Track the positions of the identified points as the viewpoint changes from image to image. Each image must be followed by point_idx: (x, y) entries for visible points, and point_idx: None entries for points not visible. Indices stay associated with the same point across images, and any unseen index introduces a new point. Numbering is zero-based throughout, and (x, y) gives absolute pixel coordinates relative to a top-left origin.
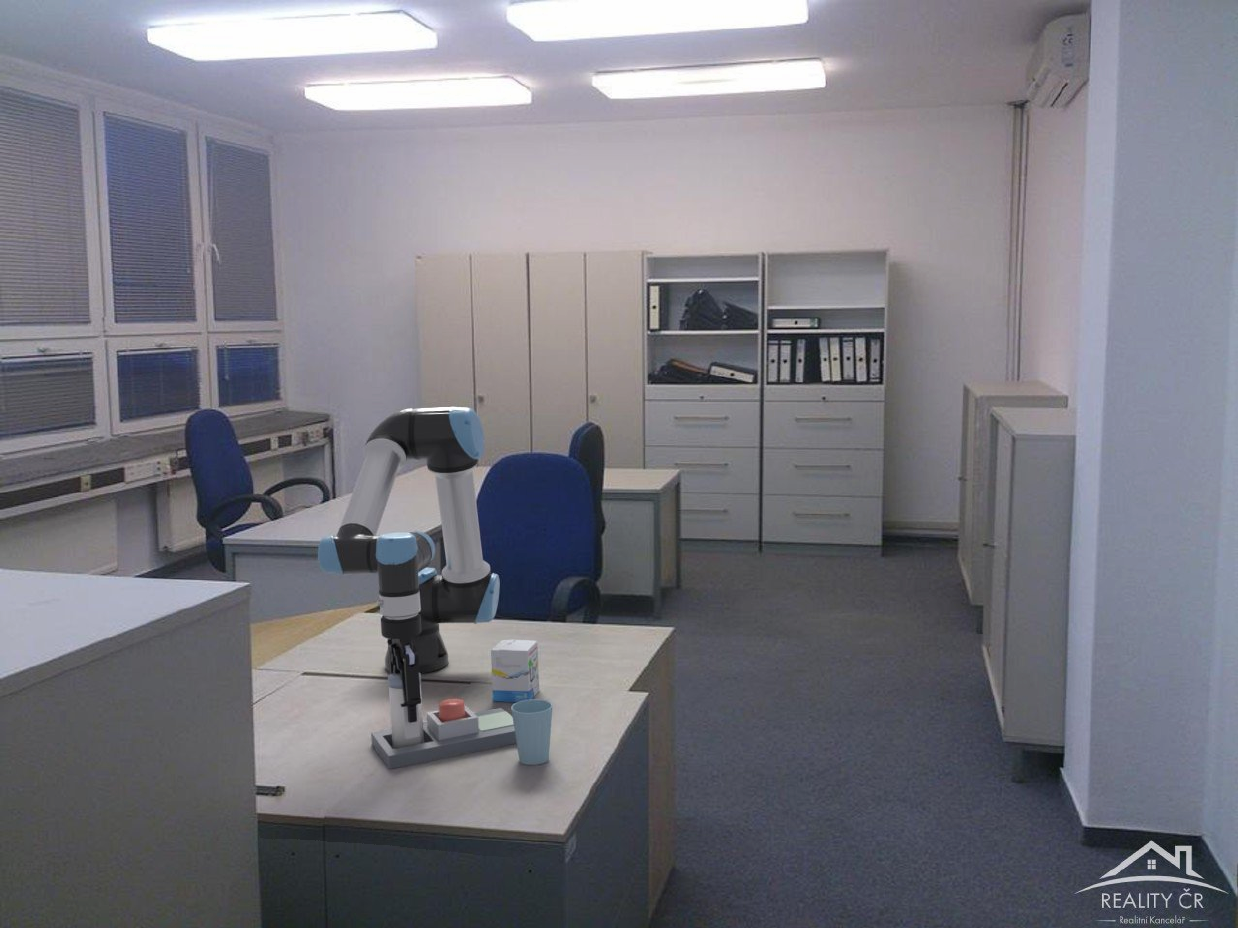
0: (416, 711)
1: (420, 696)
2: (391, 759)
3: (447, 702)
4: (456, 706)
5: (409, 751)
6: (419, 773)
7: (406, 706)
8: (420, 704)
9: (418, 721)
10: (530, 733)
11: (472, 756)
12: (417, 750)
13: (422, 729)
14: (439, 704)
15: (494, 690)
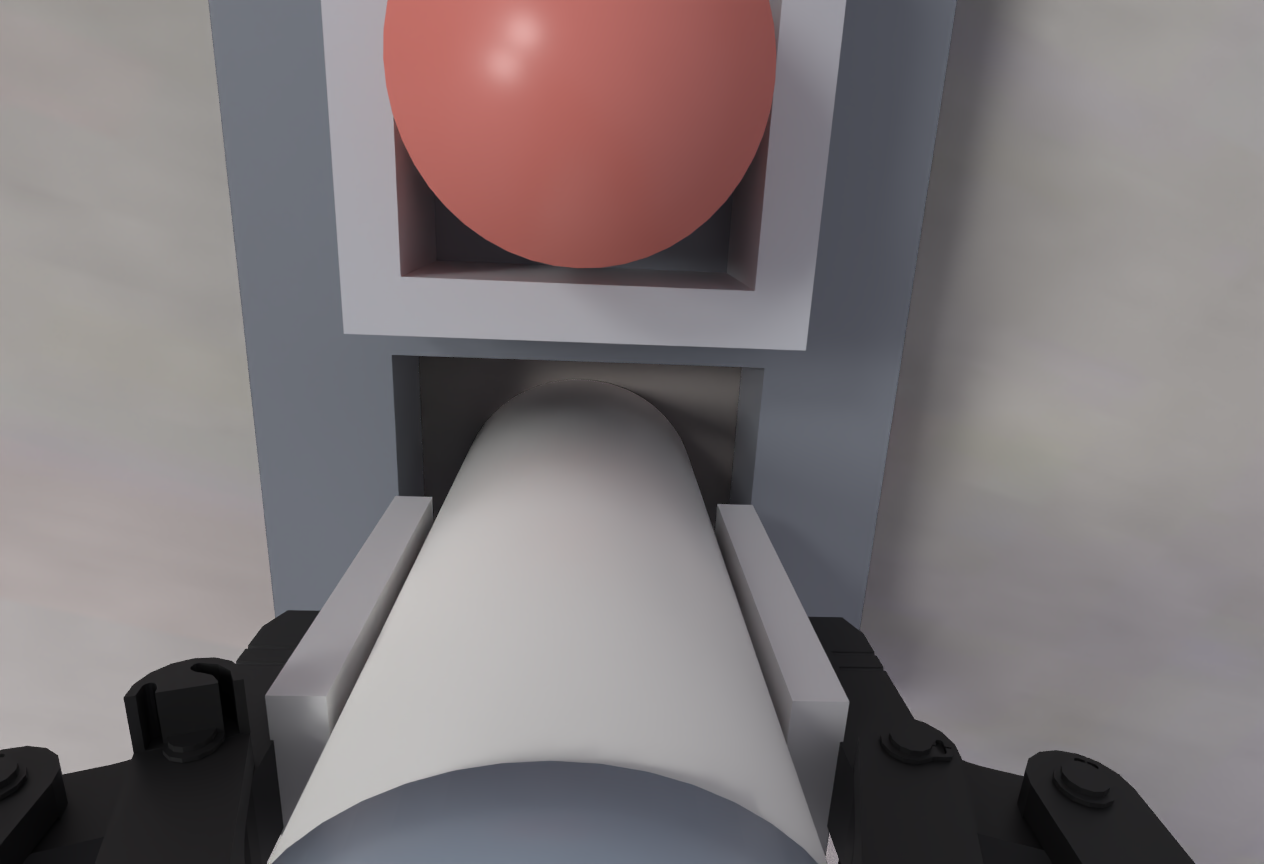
0: (895, 689)
1: (1186, 853)
2: None
3: (521, 115)
4: (770, 59)
5: (852, 594)
6: (1007, 541)
7: (826, 824)
8: (707, 595)
9: (782, 573)
10: None
11: (984, 101)
12: (871, 540)
13: (661, 458)
14: (543, 251)
15: None
